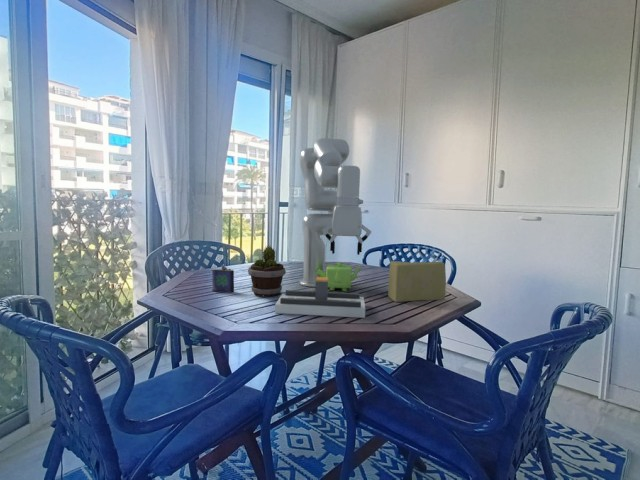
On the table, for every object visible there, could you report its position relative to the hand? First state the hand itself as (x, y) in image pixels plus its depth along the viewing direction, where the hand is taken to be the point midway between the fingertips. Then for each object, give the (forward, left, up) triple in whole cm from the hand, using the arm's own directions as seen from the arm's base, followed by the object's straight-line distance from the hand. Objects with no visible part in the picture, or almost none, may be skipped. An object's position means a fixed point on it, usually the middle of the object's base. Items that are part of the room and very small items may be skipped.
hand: (345, 253), depth 132 cm
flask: (-18, -49, -20) cm, 56 cm away
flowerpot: (-17, -31, -20) cm, 41 cm away
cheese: (-20, +29, -20) cm, 41 cm away
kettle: (-31, -2, -20) cm, 37 cm away
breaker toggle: (0, -8, -17) cm, 18 cm away
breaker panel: (0, -8, -20) cm, 22 cm away
